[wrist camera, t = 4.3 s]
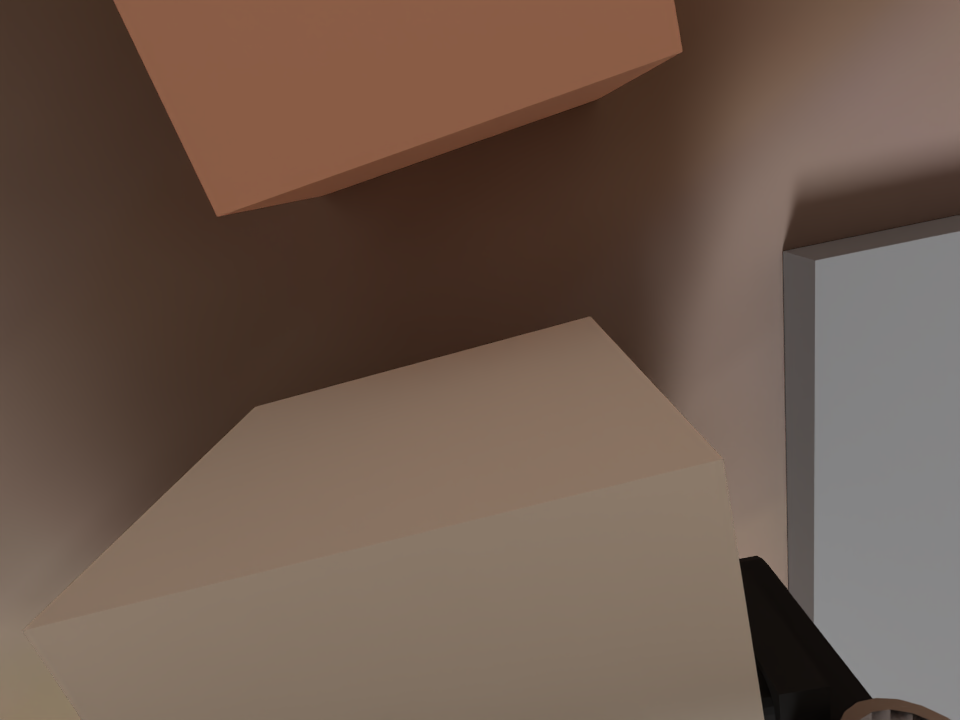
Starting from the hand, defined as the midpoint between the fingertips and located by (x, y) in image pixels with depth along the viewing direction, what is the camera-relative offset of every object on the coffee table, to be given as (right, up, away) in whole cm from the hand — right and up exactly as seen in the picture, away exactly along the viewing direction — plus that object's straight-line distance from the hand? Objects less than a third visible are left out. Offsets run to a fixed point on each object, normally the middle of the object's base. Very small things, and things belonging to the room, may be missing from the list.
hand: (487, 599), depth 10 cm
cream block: (0, 0, +1) cm, 1 cm away
